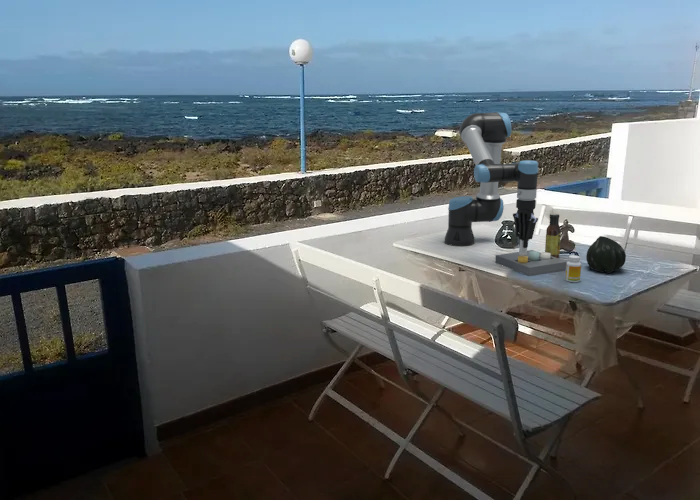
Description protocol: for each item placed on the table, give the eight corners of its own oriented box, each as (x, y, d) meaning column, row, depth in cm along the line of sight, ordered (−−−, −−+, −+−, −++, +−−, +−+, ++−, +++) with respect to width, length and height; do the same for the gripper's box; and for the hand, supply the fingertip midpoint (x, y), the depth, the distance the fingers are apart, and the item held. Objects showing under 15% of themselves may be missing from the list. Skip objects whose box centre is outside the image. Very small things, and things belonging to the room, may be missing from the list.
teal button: (527, 260, 225) (527, 251, 224) (534, 259, 227) (535, 250, 226) (533, 263, 222) (534, 253, 221) (541, 261, 223) (541, 252, 222)
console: (495, 262, 233) (495, 255, 232) (531, 257, 240) (532, 249, 239) (529, 275, 213) (529, 267, 212) (567, 269, 220) (568, 261, 219)
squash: (639, 260, 212) (619, 228, 218) (615, 267, 206) (595, 234, 211) (614, 275, 224) (595, 245, 229) (590, 282, 217) (571, 251, 223)
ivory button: (538, 261, 228) (538, 252, 227) (545, 260, 229) (546, 251, 228) (544, 264, 224) (545, 254, 223) (552, 262, 226) (552, 253, 225)
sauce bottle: (560, 259, 236) (563, 215, 231) (545, 259, 237) (548, 215, 232) (557, 255, 242) (561, 213, 237) (543, 255, 243) (546, 212, 238)
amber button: (515, 265, 223) (515, 256, 222) (523, 264, 225) (523, 255, 224) (521, 267, 220) (522, 258, 219) (529, 266, 221) (530, 257, 220)
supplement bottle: (583, 281, 205) (585, 257, 202) (571, 283, 203) (573, 259, 201) (573, 277, 210) (575, 254, 207) (562, 279, 208) (563, 255, 205)
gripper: (508, 197, 220) (505, 251, 226) (529, 202, 208) (525, 259, 214) (523, 195, 223) (519, 249, 229) (544, 200, 211) (540, 257, 217)
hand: (522, 254), depth 221 cm, fingers closed
